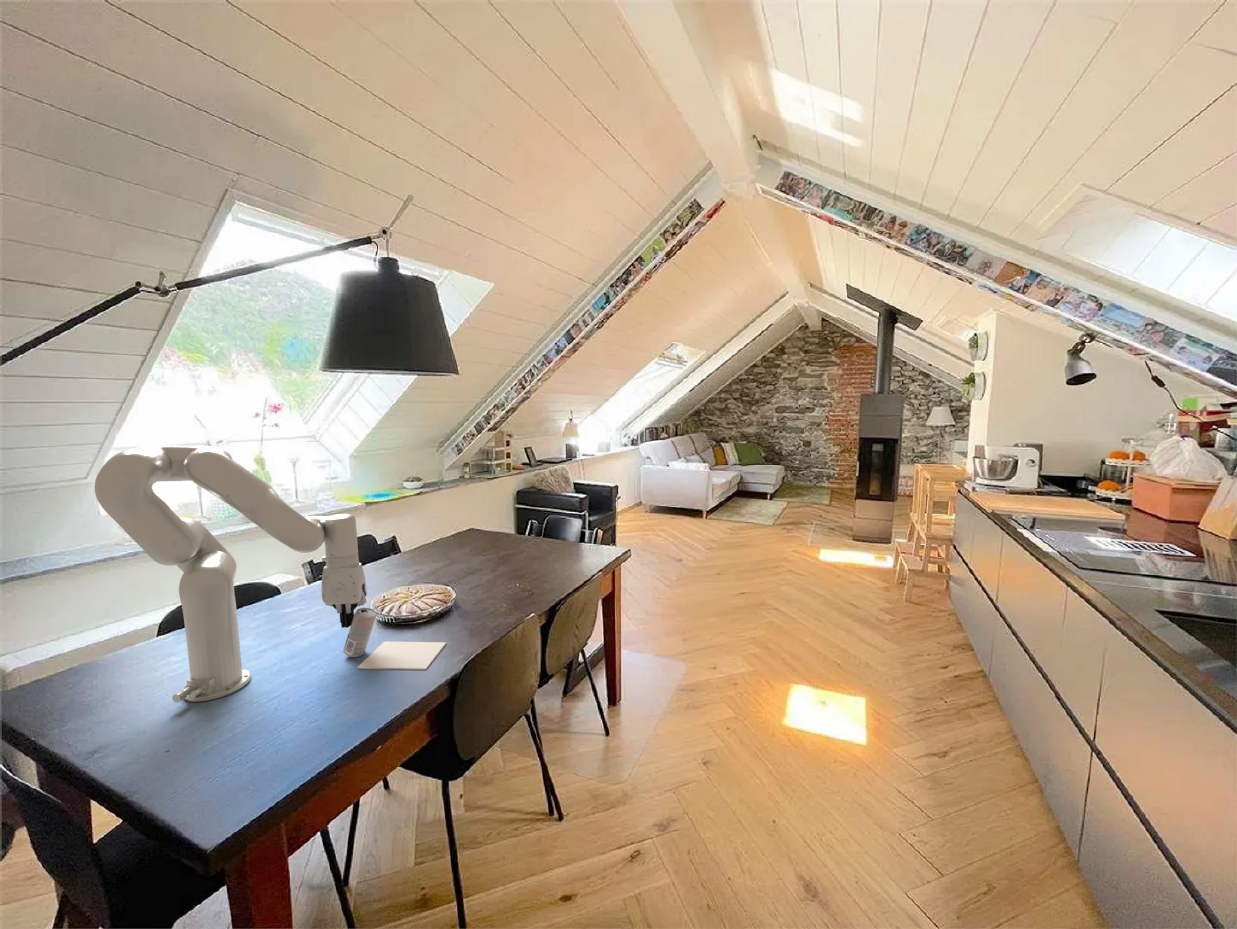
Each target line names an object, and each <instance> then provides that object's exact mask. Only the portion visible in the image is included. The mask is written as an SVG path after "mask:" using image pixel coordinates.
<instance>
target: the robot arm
mask: <svg viewBox="0 0 1237 929" xmlns="http://www.w3.org/2000/svg"><path fill="white" fill-rule="evenodd" d="M185 481H186V482H188V481H190V482H193V483H194V484H196V485H197V486H199V487H201V488H202V489H204V490H205V491H207V492H209V493H210V494H211V495H213V496H215V497H216V498H217V499H219V500H220V501H222V502H224V503H226V504H227V505H229V507H232V508H233V509H235V510H236V511H238V512H239V513H241V514H242V515H243V516H244V517H245V518H247V519H248V520H249V521H251V522H252V523H253V524H255V525H256V526H257V527H258V528H260V529H262V530H263V531H264V532H265V533H267V534H268V535H270V536H271V537H272V538H274V539H275V540H276V541H279V542H280V543H282V544H283V545H284V546H286V547H288V548H290V549H291V550H293V551H295V552H298V553H300V554H301V553H302V554H308V553H312V552H315V551H317V550H318V549H319V548H320V547H321V546H322V545H323V544H324V547H325V555H324V556H322V558H321V560H322V562H325V566H324V567H323V569H322V570H323V571H322V575H321V600H322V603H324V604H325V605H326V606H329V607H333V609H335V610H336V613H337V614H339V622H340V625H341V626H340V627H341V628H342V629H343V628H344V629H345V628H348V629H349V628H350V627H351V624H352V621H353V618H354V614H355V611H354V610H357V608H358V607H362V606H364V605H366V604H367V602H368V601H367V598H366V597H367V596H368V595H367V594H368V592H367V591H368V590H367V581H366V576H365V571H364V569H363V568H364V567H363V566H362V563H361V562H360V560H359V549H358V547H359V546H358V544H359V543H358V532H357V520H356V517H355V516H354V515H353V514H352V513H350V514H349V513H339V514H338V513H337V514H332V515H327V516H325V515H324V516H309V515H307V516H303V515H301V514H300V513H299V512H298V511H296V510H295V509H293V507H291V506H290V505H288V503H286V502H285V501H284V500H283V499H282V498H281V497H280V495H279V494H278V493H277V491H276V490H275V489H274V488H273V487H272V486H271V485H270V484H268V483H267V482H266V481H265V480H263V479H261V478H259V477H258V476H256V475H255V474H253V473H252V472H251V471H249V470H248V469H246V468H245V467H243V466H242V465H241V464H240V463H238V462H237V461H235V460H234V459H233V457H232V455H231V454H230V453H229V452H228V451H227V450H226V449H224V448H222V447H219V446H214V445H202V446H200V445H197V446H194V445H193V446H192V445H191V446H190V445H189V446H188V445H187V446H186V445H185V446H182V445H179V446H178V445H172V446H171V445H168V446H167V445H147V446H146V445H143V446H138V447H134V448H129V449H125V450H122V451H120V452H118V453H116V454H114V455H112V457H111V458H109V459H108V460H106V462H105V463H104V464H103V466H101V468H100V470H99V471H98V472H97V475H96V477H95V481H94V494H95V498H96V500H97V501H98V503H99V505H100V507H101V508H102V509H103V510H104V511H105V513H106V514H107V515H109V517H110V518H111V519H113V521H114V522H115V523H116V524H118V526H120V527H121V529H123V531H124V532H125V533H126V535H128V536H129V538H131V539H132V540H133V541H134V542H135V543H136V544H137V545H138V546H139V547H140V548H141V549H142V550H143V551H144V552H145V553H146V554H147V555H148V557H149V558H150V559H151V560H153V561H154V562H156V563H158V564H159V565H162V566H163V565H164V566H169V567H172V566H176V567H177V568H179V569H180V570H181V571H182V575H181V578H180V580H179V585H178V594H179V600H180V604H181V610H182V615H183V621H184V622H183V623H184V632H185V636H186V638H185V639H186V648H187V656H188V666H189V667H188V668H189V675H190V678H188V679H187V680H186V685H185V686H184V687H183V689H181V690H179V691H178V692H177V693H174V694H173V695H172V701H173V702H174V703H179V702H181V701H183V700H185V701H189V702H192V703H193V702H196V703H197V702H206V701H212V700H216V699H219V698H222V697H225V696H226V697H227V696H228V695H230V694H232V693H235V692H237V691H239V690H240V689H242V688H243V687H244V686H246V685H247V684H248V683H249V682H250V681H251V678H252V677H251V672H250V670H248V669H246V668H245V669H243V666H242V665H243V664H242V655H241V646H240V645H241V644H240V633H239V621H238V614H237V612H238V611H237V603H236V595H235V585H234V584H235V577H236V573H237V561H236V560H235V558H234V557H233V555H232V554H231V553H230V552H229V551H228V550H227V549H226V548H225V546H224V545H222V544H221V542H220V541H219V540H218V539H217V538H216V537H215V536H214V535H213V534H212V533H211V531H209V529H207V527H206V526H205V525H204V524H202V523H200V522H199V521H198V520H196V519H193V518H190V517H184V516H178V515H177V514H176V513H175V512H174V510H172V509H171V508H170V506H169V505H168V504H167V503H166V502H165V501H164V500H163V499H162V498H161V497H159V496H158V495H157V494H156V493H155V492H154V489H153V485H154V484H155V483H157V482H158V483H159V482H185Z"/></svg>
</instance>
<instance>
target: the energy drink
mask: <svg viewBox="0 0 1237 929" xmlns="http://www.w3.org/2000/svg"><path fill="white" fill-rule="evenodd" d="M376 618H377V612H376V611H375V610H374V609H373V608H369V607H359V608H358V609H356V611H354V618H353V621H352V624H351V626H349V631H348V634H347V637H346V640H345V643H344V647H343V653H344V655H346V656H348V657H350V658H359V657H362V655H363V656H364V654H365V652H366V649H367V646H368V643H369V640H370V637H371V635H372V634H371V633H372V631H373V627H374V623H375V621H376Z"/></svg>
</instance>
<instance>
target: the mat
mask: <svg viewBox="0 0 1237 929" xmlns="http://www.w3.org/2000/svg"><path fill="white" fill-rule="evenodd" d="M446 644H447V642H446V641H445V642H444V641H436V642H435V641H431V642H430V641H385V640H384V641H383V642H382V643H381V644H380V645H379V646H378V647H377V648H376V649H375V650H374V651H373V652H372V653H371V654H370V655H368V656H367V657H366V658H365V659H364V660H363V661H362V662H361V663H360V664H359V665H358V666H357V667H356V669H357V670H359V669H360V670H405V671H407V670H412V671H413V670H414V671H415V670H417V671H426V670H427V669H428V668H429V666H430V665H431V664H432V663H433V661H434V660H435V659H436V657H437V656H438V655H439V654H440V652H441V651H442V650H443V648H444V647H445V646H446Z"/></svg>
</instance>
